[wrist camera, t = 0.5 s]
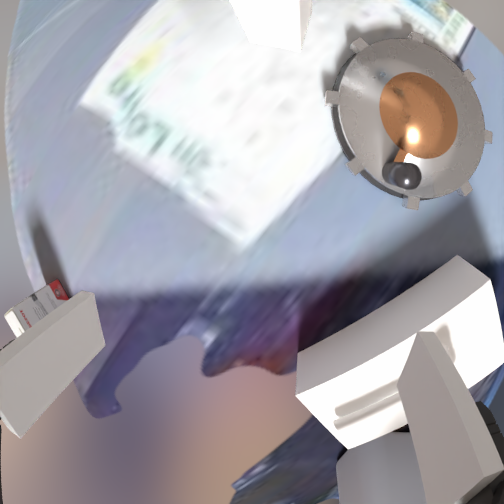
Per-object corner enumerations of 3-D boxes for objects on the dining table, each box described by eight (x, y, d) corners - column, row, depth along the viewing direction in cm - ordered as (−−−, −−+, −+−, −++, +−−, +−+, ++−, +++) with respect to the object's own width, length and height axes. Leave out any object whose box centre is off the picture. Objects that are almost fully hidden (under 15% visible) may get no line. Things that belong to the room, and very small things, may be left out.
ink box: (46, 286, 43) (1, 314, 32) (58, 277, 41) (10, 306, 30) (69, 327, 44) (29, 361, 33) (83, 321, 43) (41, 357, 32)
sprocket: (369, 11, 22) (381, -17, 16) (498, 104, 22) (529, 98, 16) (298, 144, 29) (298, 140, 22) (441, 234, 29) (469, 251, 22)
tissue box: (480, 329, 33) (513, 370, 22) (344, 408, 40) (348, 461, 30) (456, 253, 30) (501, 288, 20) (297, 351, 38) (294, 409, 28)
